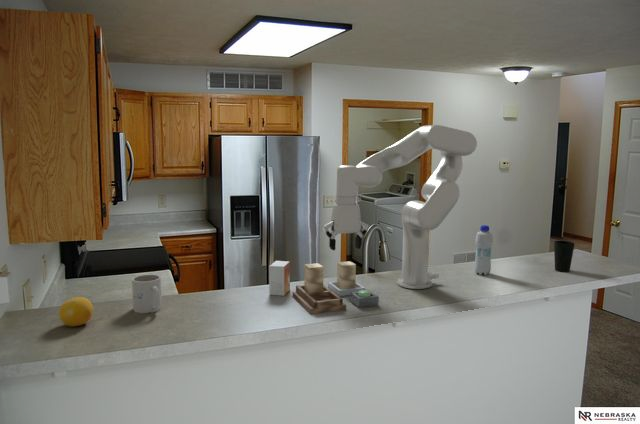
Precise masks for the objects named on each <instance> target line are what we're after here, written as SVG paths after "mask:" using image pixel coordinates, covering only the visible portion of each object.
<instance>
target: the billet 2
mask: <svg viewBox="0 0 640 424" xmlns="http://www.w3.org/2000/svg"><path fill="white" fill-rule="evenodd" d="M356 268H357V264H356V263H354V262H352V261H349V260H348V261H339V262H337V265H336V269H337V270H336V274H337V275H336V279H337V280H336V281H337V287H338V288H339V289H340V290H343V289H352V288H355V286H356V281H357V280H356V275H357V274H356V272H357V271H356V270H357V269H356Z"/></svg>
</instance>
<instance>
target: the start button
mask: <svg viewBox="0 0 640 424" xmlns="http://www.w3.org/2000/svg"><path fill="white" fill-rule="evenodd" d="M358 296H359V297H369V296H370V290H366V289H365V290H361V291H359V292H358Z"/></svg>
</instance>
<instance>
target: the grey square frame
mask: <svg viewBox="0 0 640 424" xmlns="http://www.w3.org/2000/svg"><path fill="white" fill-rule="evenodd" d="M327 288H329V289H330V290H331V291H333V292H334V293H335V294H336V295H338V296H339V297H344V296H350V293H351V292H359V291H361V290H366V287H364V286H363V285H361V284H360V283H359V282H356V286H355V288H352V289H343V290H340V289H339V288H338V287H337V280H336V281H328V283H327Z"/></svg>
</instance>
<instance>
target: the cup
mask: <svg viewBox="0 0 640 424" xmlns="http://www.w3.org/2000/svg"><path fill="white" fill-rule="evenodd" d="M553 244H554V245H553V247H554V248H553V250H554V251H553V252H554V254H553V255H554V256H553V257H554V270H555V272H560V273H569V272H570V270H571V265H572V261H573V256H574V249H575V244H576V243H575V242H573V241H571V240H570V241H569V240H554V241H553Z"/></svg>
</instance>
